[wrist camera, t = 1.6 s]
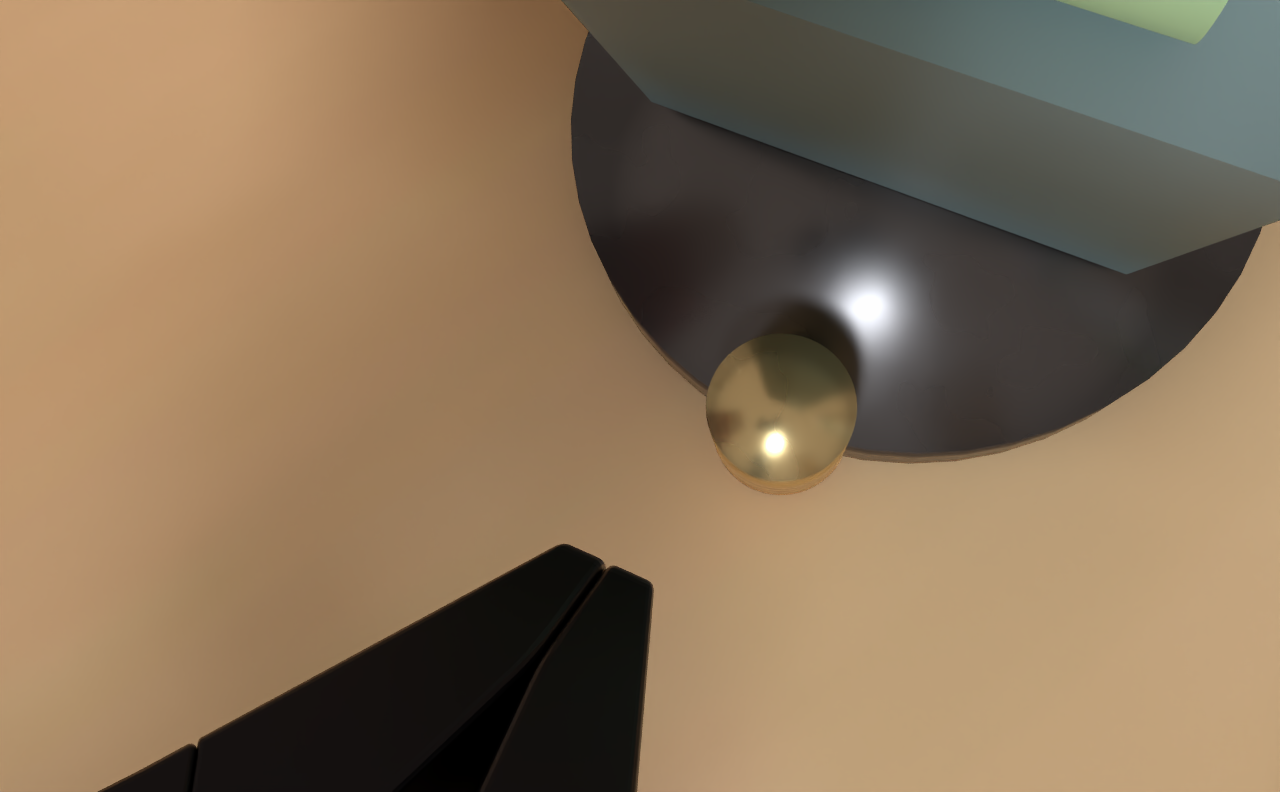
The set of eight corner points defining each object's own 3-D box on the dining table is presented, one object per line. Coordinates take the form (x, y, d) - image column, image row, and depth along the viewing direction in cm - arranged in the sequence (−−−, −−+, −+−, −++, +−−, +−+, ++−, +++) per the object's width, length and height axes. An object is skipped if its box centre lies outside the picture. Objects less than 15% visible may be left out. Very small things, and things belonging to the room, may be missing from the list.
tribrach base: (1102, 637, 21) (1141, 640, 19) (445, 357, 24) (409, 329, 22) (1353, -32, 23) (1417, -104, 21) (720, -221, 26) (715, -304, 24)
